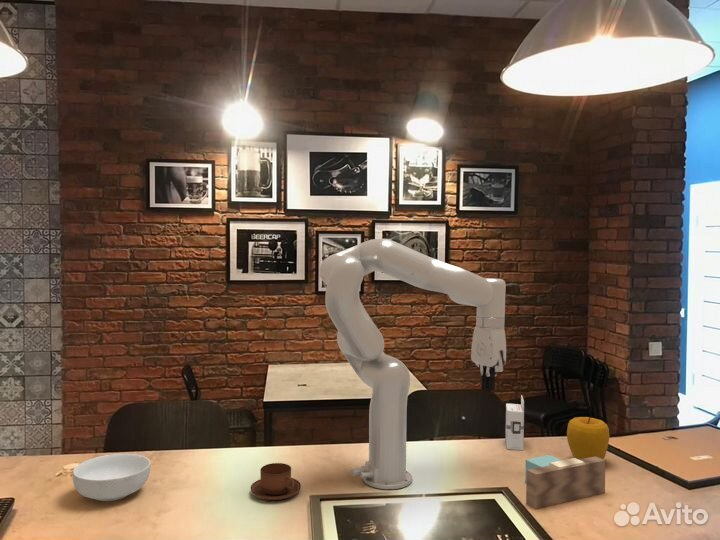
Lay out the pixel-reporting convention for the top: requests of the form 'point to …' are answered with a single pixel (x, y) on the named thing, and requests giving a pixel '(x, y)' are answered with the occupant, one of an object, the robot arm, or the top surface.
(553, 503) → the walnut box
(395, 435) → the robot arm
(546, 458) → the teal block
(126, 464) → the cereal bowl
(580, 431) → the apple
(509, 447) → the ink box
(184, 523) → the top surface
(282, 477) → the cup and saucer
